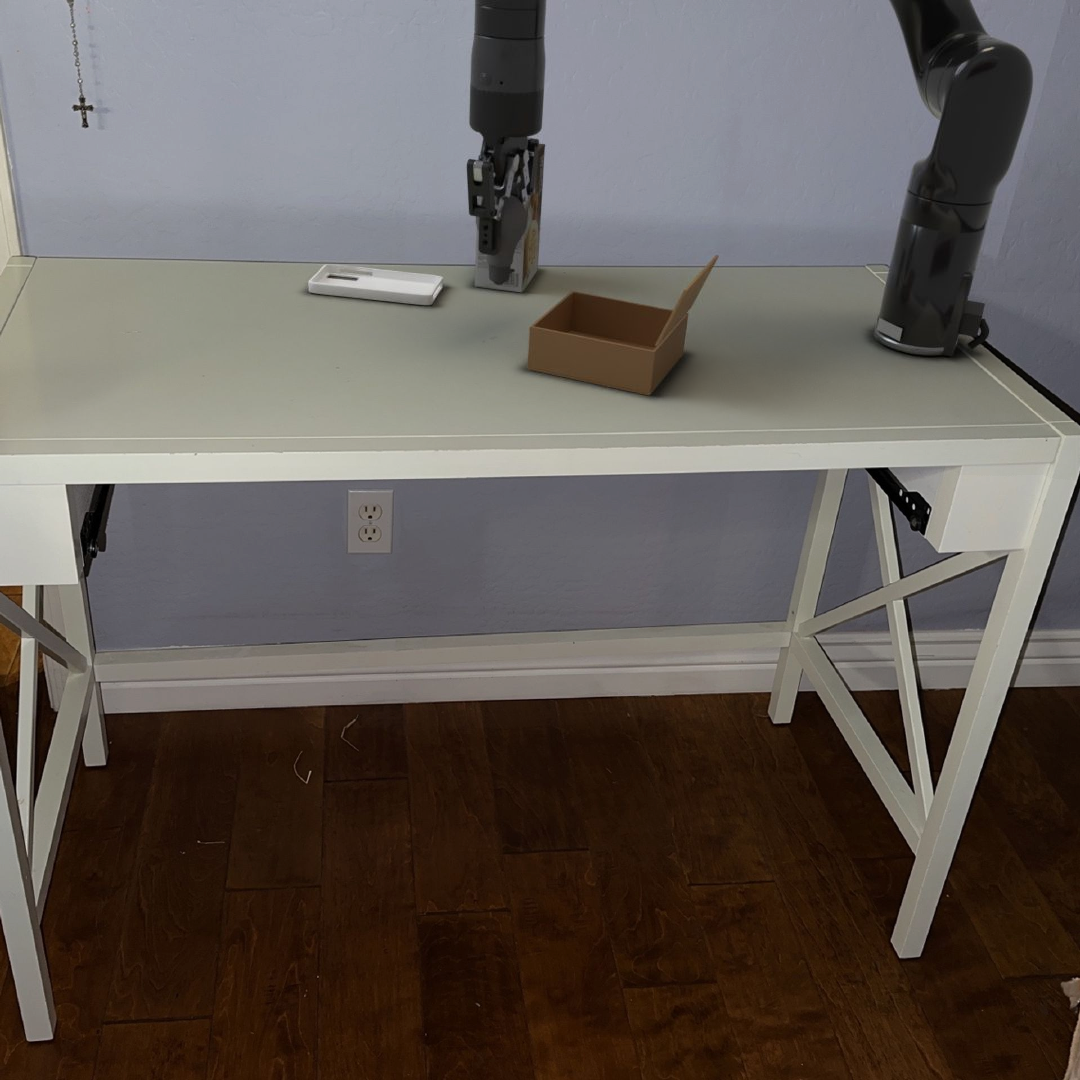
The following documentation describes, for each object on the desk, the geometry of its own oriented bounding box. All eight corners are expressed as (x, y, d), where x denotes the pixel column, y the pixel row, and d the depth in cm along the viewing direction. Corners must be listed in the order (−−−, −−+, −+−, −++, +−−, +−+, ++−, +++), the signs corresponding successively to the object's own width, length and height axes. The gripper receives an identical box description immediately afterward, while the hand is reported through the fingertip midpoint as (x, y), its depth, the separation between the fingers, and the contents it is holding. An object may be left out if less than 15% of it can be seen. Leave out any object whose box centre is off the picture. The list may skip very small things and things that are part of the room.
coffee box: (490, 264, 151) (495, 137, 143) (538, 270, 150) (546, 143, 142) (473, 287, 144) (477, 154, 135) (523, 293, 143) (531, 160, 134)
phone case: (307, 293, 138) (430, 306, 137) (306, 282, 138) (430, 295, 136) (325, 273, 145) (443, 286, 143) (325, 263, 144) (444, 275, 143)
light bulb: (494, 296, 125) (497, 203, 120) (463, 281, 129) (466, 190, 124) (534, 287, 129) (539, 196, 123) (503, 273, 132) (507, 184, 127)
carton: (683, 354, 129) (688, 313, 127) (649, 395, 119) (655, 352, 117) (569, 331, 133) (572, 290, 131) (527, 369, 123) (529, 326, 120)
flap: (688, 307, 126) (690, 308, 126) (654, 345, 116) (657, 346, 116) (716, 254, 122) (719, 255, 122) (684, 289, 112) (687, 290, 112)
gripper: (513, 98, 111) (506, 270, 120) (566, 76, 122) (556, 234, 131) (442, 88, 113) (440, 258, 122) (501, 67, 125) (495, 224, 133)
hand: (500, 245), depth 127 cm, fingers closed on light bulb, 5 cm apart
